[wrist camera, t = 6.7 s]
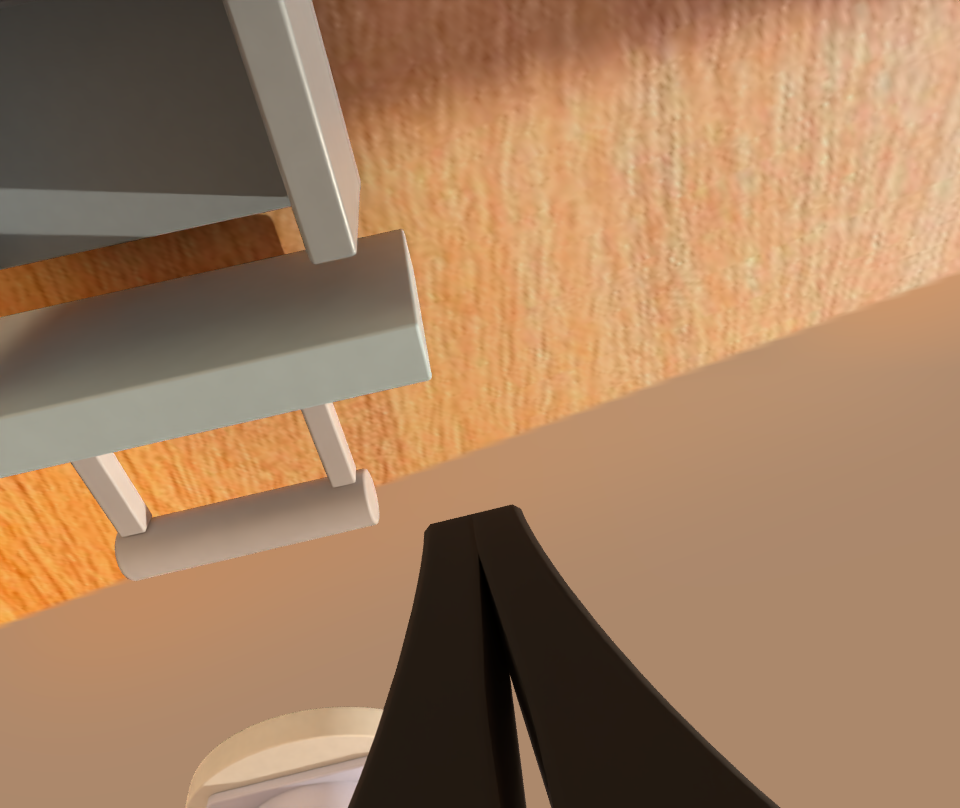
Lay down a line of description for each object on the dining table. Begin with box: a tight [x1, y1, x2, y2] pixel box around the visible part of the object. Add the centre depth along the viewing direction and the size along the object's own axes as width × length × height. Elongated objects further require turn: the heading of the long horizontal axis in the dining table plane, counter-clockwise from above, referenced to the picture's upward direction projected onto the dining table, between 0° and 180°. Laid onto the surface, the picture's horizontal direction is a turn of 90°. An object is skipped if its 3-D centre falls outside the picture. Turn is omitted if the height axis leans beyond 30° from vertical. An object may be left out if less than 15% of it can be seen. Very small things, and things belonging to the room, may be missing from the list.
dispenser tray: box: [0, 0, 432, 581], centre depth 12 cm, size 17×10×6 cm, turn 10°
